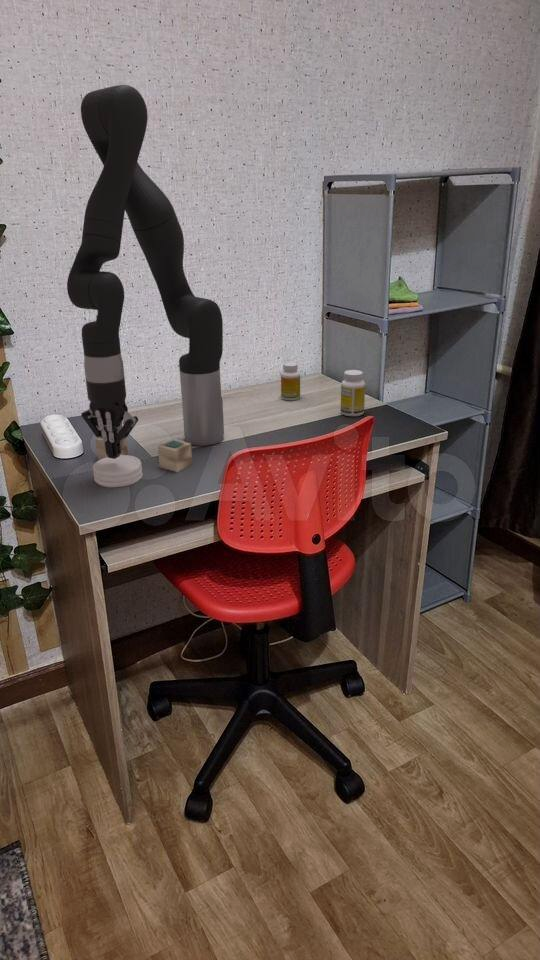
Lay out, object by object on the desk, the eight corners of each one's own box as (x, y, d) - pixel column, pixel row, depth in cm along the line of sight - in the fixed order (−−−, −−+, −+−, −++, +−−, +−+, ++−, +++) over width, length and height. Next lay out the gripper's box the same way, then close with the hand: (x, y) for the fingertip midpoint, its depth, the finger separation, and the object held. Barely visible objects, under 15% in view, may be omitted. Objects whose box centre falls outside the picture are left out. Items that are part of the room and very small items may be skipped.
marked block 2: (175, 459, 150) (173, 437, 148) (192, 464, 148) (190, 442, 145) (159, 467, 146) (157, 444, 144) (177, 472, 144) (175, 449, 142)
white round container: (124, 465, 148) (123, 450, 147) (152, 477, 142) (150, 462, 140) (85, 479, 142) (83, 463, 140) (112, 493, 135) (110, 477, 134)
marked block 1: (107, 452, 155) (104, 430, 153) (127, 453, 154) (125, 431, 152) (98, 460, 150) (95, 438, 148) (119, 461, 150) (117, 439, 147)
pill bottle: (363, 409, 179) (365, 369, 174) (364, 417, 173) (366, 375, 168) (340, 409, 179) (341, 368, 175) (340, 416, 174) (341, 375, 169)
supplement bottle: (300, 400, 186) (300, 366, 182) (281, 401, 186) (280, 366, 182) (299, 394, 191) (300, 361, 187) (281, 395, 191) (280, 361, 187)
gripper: (143, 375, 133) (150, 455, 140) (90, 368, 138) (99, 446, 145) (121, 384, 127) (129, 469, 134) (65, 377, 132) (76, 458, 139)
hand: (113, 457), depth 140 cm, fingers closed
